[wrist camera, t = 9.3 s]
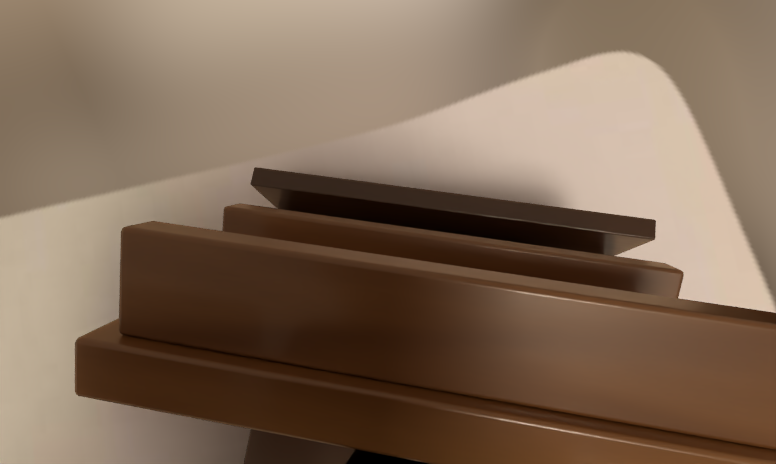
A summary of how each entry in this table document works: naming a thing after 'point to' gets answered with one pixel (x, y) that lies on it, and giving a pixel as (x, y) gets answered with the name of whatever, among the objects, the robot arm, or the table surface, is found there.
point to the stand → (437, 213)
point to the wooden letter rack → (431, 345)
